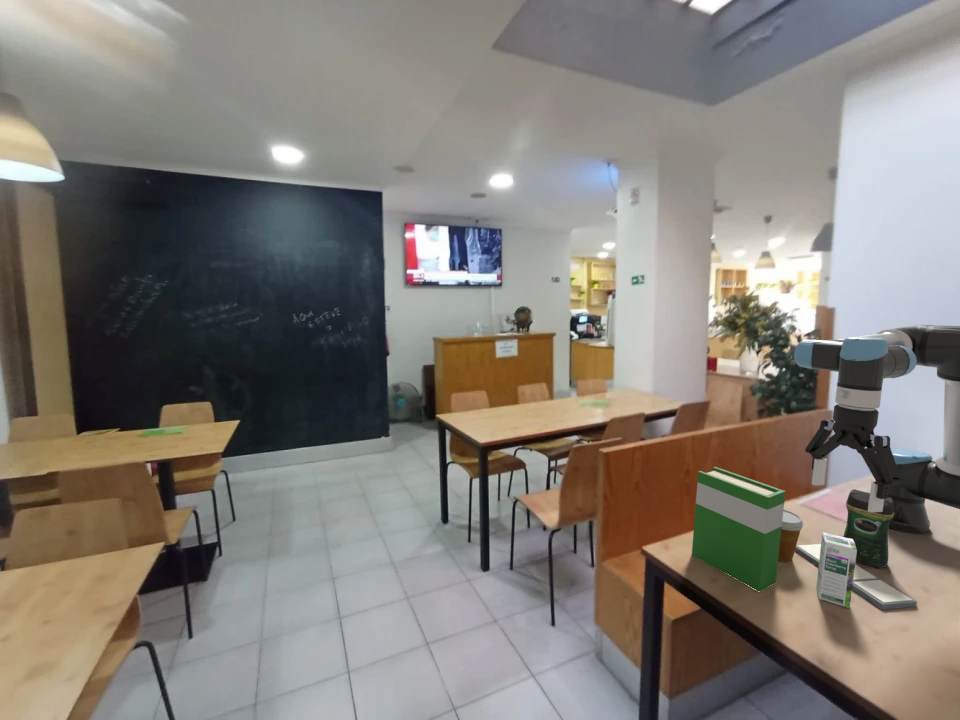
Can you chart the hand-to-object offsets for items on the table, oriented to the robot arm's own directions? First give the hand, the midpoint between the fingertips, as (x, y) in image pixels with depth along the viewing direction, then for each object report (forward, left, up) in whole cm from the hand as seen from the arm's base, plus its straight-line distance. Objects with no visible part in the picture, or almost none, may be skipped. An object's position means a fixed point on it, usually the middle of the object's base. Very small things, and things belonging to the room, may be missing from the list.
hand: (844, 497), depth 98 cm
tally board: (-12, -7, -25) cm, 28 cm away
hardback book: (+16, -13, -25) cm, 32 cm away
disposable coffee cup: (-1, -17, -25) cm, 30 cm away
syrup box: (0, 0, -25) cm, 25 cm away
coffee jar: (-23, -13, -25) cm, 36 cm away
